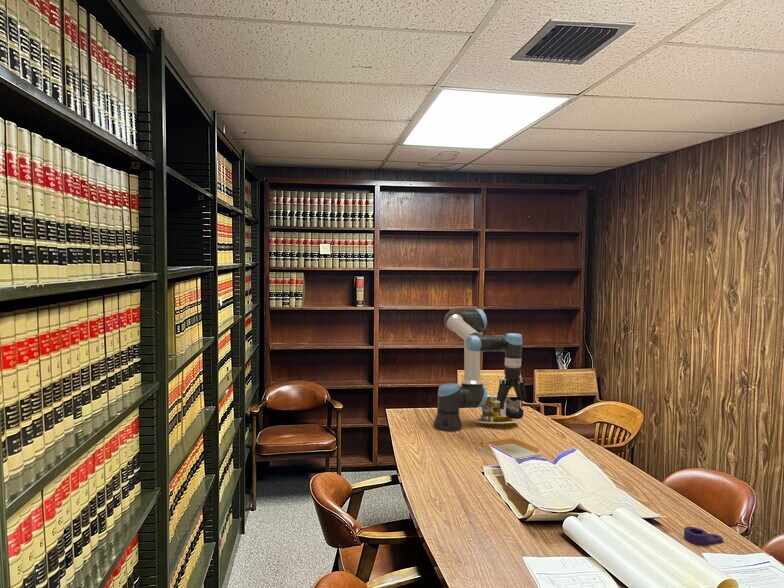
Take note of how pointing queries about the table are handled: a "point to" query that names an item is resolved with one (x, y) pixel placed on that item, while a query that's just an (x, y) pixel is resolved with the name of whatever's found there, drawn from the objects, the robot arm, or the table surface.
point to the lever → (700, 537)
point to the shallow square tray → (511, 447)
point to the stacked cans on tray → (493, 412)
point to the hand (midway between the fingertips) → (510, 415)
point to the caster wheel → (513, 409)
